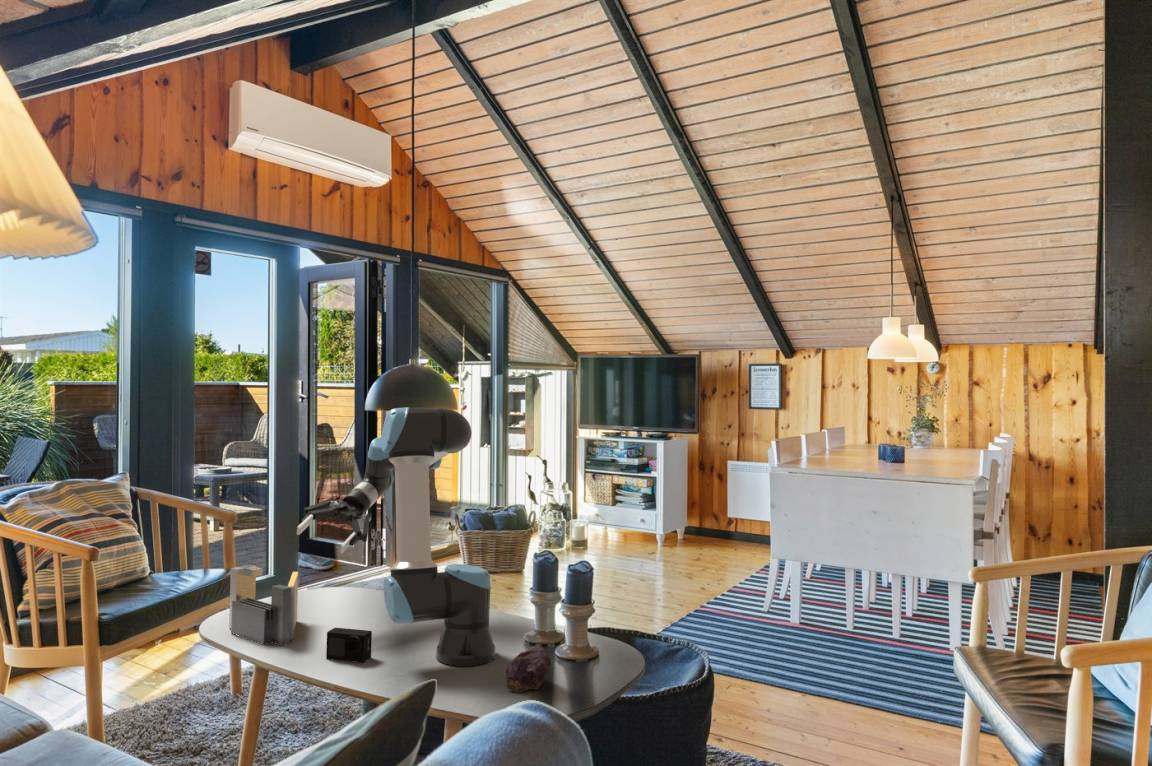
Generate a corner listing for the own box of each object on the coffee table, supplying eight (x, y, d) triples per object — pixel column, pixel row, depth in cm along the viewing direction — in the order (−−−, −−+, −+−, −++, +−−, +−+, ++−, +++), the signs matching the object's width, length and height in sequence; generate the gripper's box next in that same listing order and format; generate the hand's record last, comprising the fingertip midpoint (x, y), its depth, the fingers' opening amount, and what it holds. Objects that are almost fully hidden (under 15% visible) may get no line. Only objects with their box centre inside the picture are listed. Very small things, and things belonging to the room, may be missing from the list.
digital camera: (323, 660, 199) (323, 633, 199) (334, 654, 204) (334, 626, 204) (360, 664, 197) (361, 636, 197) (371, 657, 202) (371, 630, 202)
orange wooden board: (293, 639, 213) (294, 587, 213) (283, 640, 212) (285, 587, 212) (298, 619, 231) (299, 571, 232) (289, 619, 231) (291, 571, 231)
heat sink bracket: (300, 640, 214) (302, 577, 214) (273, 648, 207) (275, 583, 207) (248, 623, 228) (250, 564, 228) (221, 630, 221) (223, 569, 221)
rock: (500, 695, 182) (537, 703, 177) (497, 659, 181) (534, 667, 176) (528, 672, 193) (563, 679, 188) (525, 638, 192) (560, 645, 187)
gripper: (395, 525, 236) (358, 567, 218) (321, 494, 240) (279, 533, 221) (398, 505, 233) (361, 546, 214) (324, 475, 236) (281, 512, 218)
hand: (319, 540), depth 218 cm, fingers open, 13 cm apart
